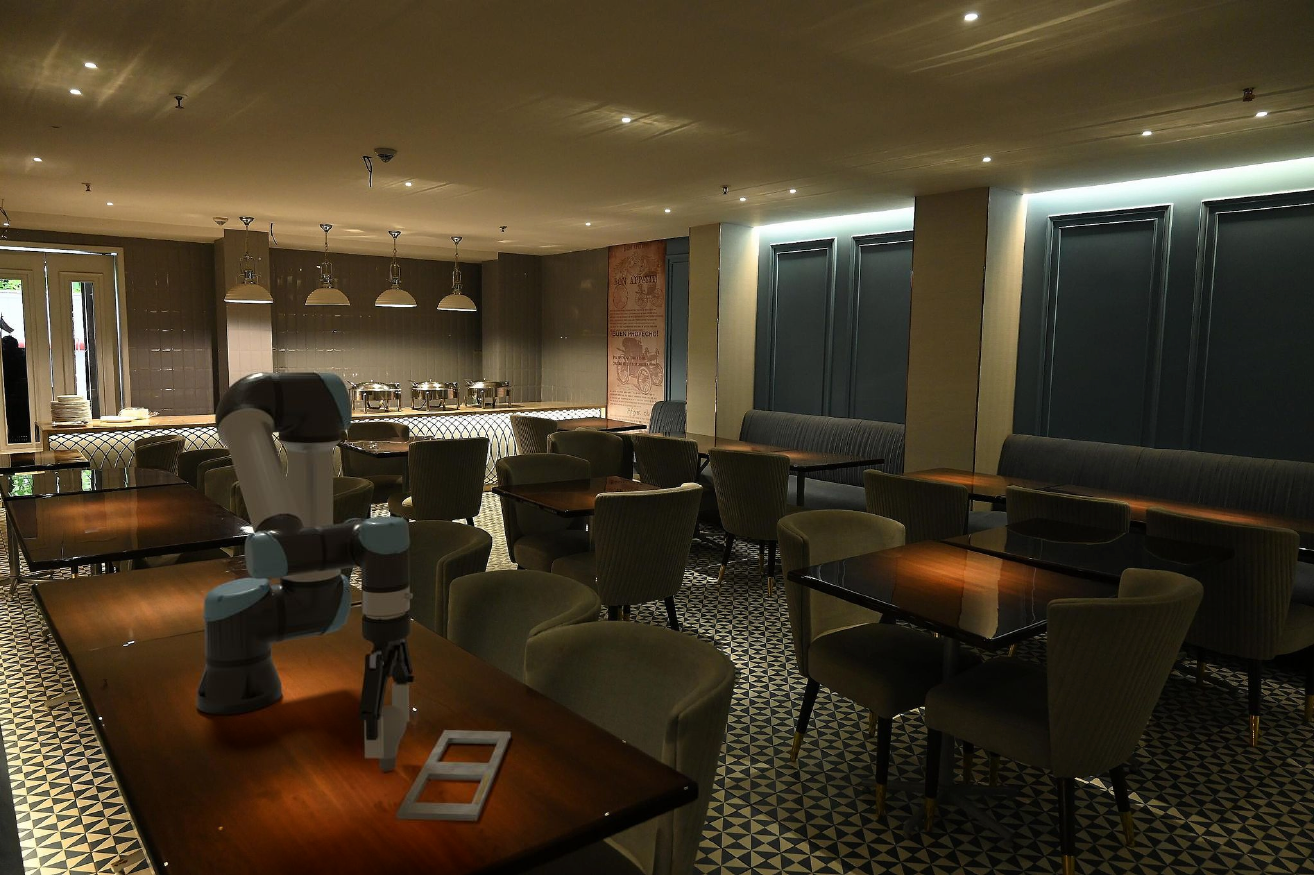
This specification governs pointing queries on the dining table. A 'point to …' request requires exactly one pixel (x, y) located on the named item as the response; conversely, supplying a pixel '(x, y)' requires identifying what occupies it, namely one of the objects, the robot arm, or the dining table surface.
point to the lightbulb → (391, 735)
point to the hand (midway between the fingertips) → (388, 738)
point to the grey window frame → (455, 777)
